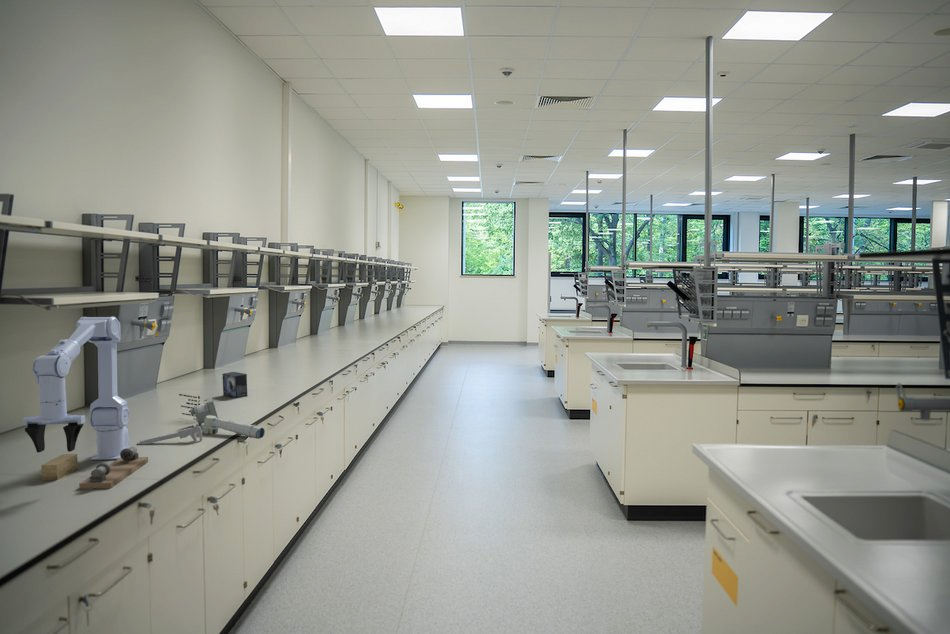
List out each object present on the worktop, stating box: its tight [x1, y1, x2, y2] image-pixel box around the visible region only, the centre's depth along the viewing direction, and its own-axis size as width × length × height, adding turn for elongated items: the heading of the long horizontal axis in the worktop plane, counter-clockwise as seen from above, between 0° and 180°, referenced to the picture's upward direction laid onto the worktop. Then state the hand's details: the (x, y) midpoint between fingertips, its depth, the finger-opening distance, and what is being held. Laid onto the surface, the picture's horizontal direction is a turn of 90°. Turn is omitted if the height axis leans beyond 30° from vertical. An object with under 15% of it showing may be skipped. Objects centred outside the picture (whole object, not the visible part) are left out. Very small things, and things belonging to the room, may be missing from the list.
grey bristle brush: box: [178, 393, 219, 427], centre depth 228 cm, size 27×11×10 cm, turn 61°
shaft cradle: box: [78, 446, 149, 490], centre depth 171 cm, size 22×8×6 cm, turn 5°
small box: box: [222, 371, 248, 399], centre depth 278 cm, size 11×6×10 cm, turn 54°
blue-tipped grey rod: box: [200, 415, 266, 440], centre depth 212 cm, size 5×7×25 cm
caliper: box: [136, 422, 203, 445], centre depth 203 cm, size 20×1×6 cm, turn 102°
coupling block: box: [40, 453, 79, 481], centre depth 171 cm, size 10×4×4 cm, turn 5°
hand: (56, 451), depth 160 cm, fingers open, 7 cm apart
